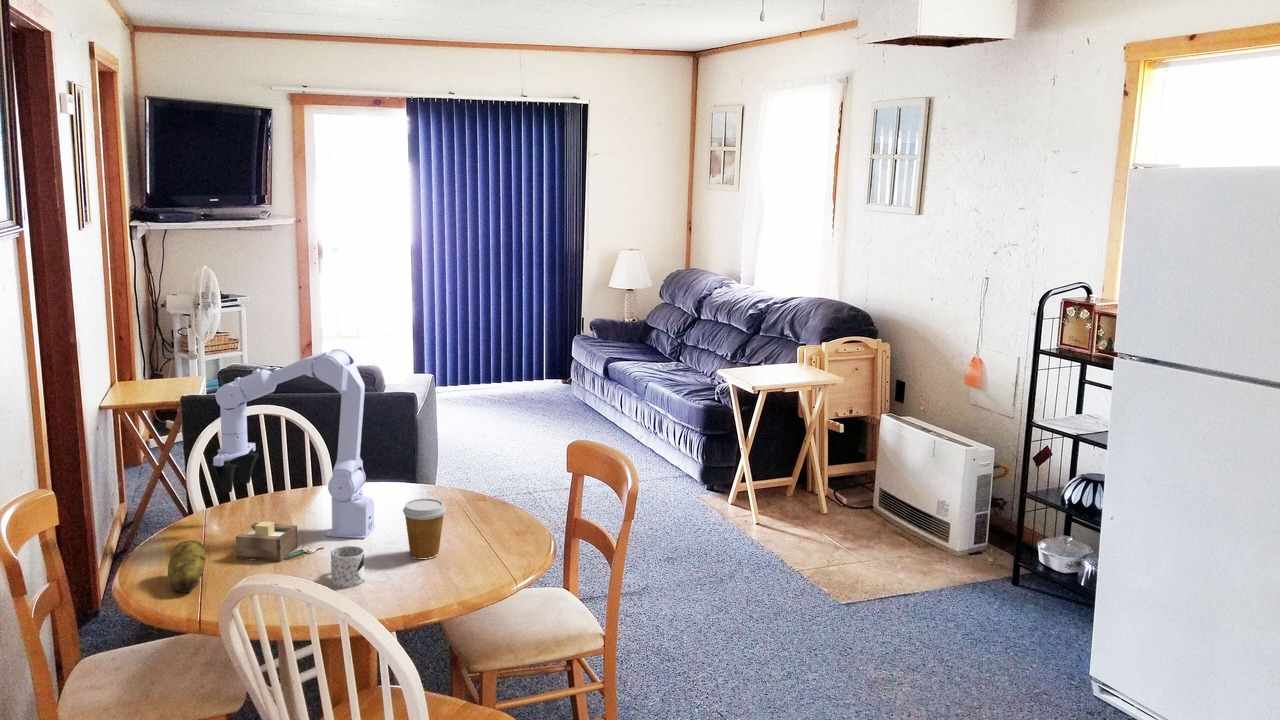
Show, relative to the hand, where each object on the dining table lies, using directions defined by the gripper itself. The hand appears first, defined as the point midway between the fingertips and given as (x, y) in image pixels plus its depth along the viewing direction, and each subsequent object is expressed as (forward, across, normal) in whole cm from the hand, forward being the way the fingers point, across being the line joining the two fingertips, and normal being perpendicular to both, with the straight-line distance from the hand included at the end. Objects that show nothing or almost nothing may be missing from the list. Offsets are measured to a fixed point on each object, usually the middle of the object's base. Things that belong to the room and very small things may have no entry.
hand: (236, 487), depth 231 cm
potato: (+10, +33, +9) cm, 36 cm away
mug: (+10, +22, +39) cm, 46 cm away
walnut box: (+10, +13, +16) cm, 23 cm away
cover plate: (+7, +14, +15) cm, 21 cm away
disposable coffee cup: (+10, +5, +50) cm, 51 cm away
